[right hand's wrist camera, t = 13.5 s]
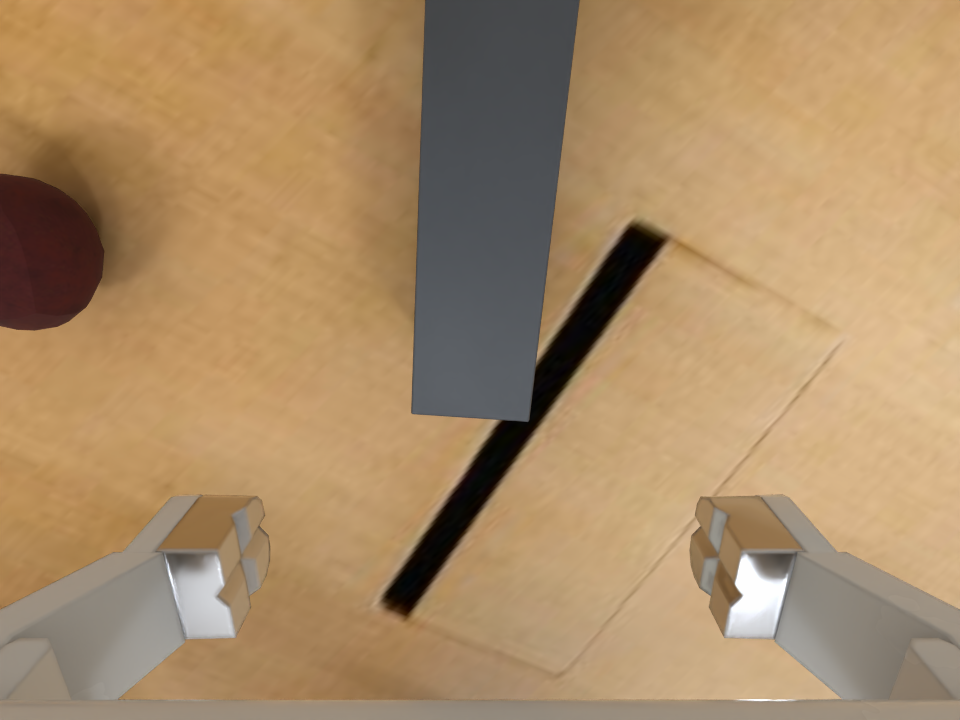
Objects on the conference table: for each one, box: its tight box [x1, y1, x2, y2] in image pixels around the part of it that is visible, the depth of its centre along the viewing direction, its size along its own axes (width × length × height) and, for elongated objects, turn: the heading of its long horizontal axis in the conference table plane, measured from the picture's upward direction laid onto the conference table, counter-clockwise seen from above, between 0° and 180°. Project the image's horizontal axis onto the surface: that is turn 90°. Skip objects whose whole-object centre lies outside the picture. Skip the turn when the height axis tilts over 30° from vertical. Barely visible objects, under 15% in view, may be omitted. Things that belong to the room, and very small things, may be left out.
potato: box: [0, 174, 104, 330], centre depth 28 cm, size 7×8×7 cm
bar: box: [411, 0, 580, 421], centre depth 25 cm, size 26×5×9 cm, turn 176°
